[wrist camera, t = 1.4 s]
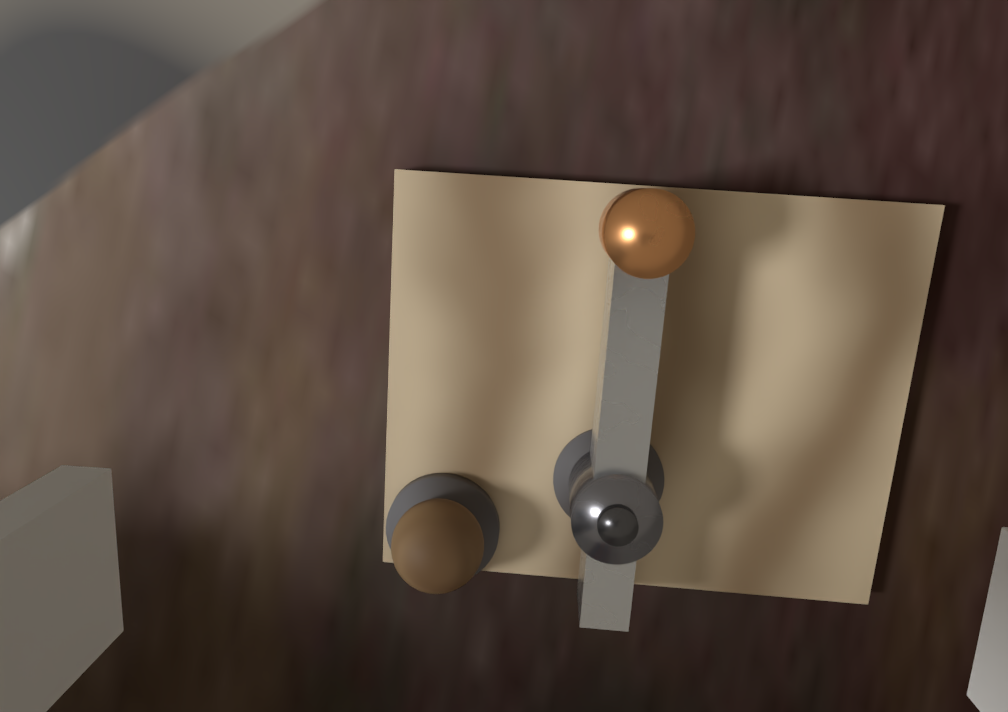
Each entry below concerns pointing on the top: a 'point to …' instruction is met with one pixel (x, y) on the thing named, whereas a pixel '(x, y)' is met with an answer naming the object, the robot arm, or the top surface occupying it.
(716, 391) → the press base
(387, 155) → the top surface
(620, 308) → the lever
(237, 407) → the top surface
